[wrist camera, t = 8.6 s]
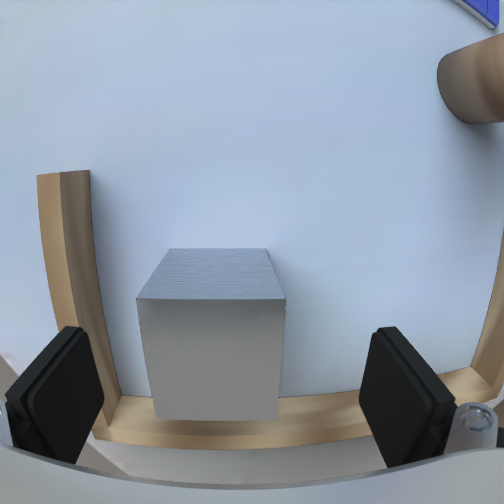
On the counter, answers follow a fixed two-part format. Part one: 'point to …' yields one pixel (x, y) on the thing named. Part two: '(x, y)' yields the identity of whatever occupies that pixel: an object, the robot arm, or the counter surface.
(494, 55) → the cylinder
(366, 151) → the counter surface
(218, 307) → the block
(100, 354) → the corral
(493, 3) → the hard drive
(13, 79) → the counter surface
